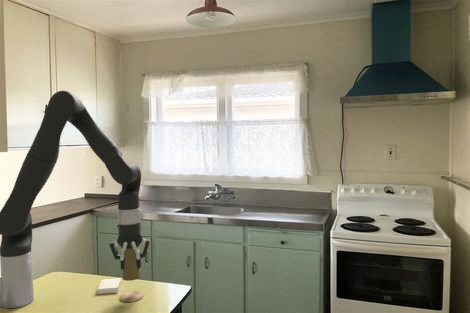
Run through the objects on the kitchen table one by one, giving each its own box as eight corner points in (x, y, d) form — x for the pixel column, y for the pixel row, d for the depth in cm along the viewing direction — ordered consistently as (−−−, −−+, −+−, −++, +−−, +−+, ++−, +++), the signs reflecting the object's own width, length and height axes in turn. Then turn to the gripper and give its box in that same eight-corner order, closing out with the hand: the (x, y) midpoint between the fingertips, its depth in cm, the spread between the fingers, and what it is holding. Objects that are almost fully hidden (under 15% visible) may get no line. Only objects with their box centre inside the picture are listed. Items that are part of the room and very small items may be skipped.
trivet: (118, 303, 125) (118, 301, 125) (121, 293, 133) (121, 291, 133) (142, 301, 126) (142, 299, 126) (144, 291, 134) (144, 289, 134)
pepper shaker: (135, 281, 126) (134, 249, 125) (119, 280, 127) (117, 248, 126) (143, 274, 131) (142, 244, 131) (127, 273, 133) (126, 243, 132)
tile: (97, 289, 132) (102, 279, 141) (97, 295, 132) (102, 285, 141) (117, 287, 133) (121, 278, 142) (117, 293, 133) (121, 283, 142)
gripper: (151, 217, 133) (152, 264, 134) (109, 219, 131) (111, 267, 132) (149, 222, 125) (151, 272, 126) (105, 224, 123) (107, 275, 124)
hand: (131, 269), depth 129 cm, fingers closed on pepper shaker, 4 cm apart
